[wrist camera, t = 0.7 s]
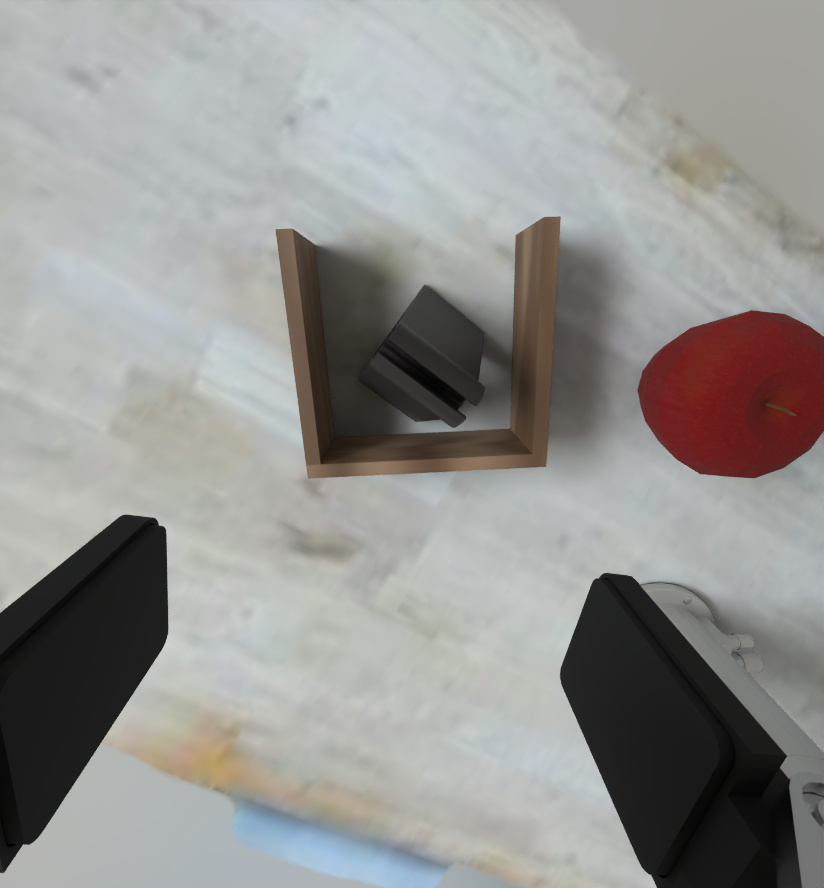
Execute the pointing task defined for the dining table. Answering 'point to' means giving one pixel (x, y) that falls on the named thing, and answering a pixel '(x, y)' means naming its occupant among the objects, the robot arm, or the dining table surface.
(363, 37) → the dining table surface
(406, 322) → the phone stand
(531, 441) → the open box
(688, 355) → the apple
